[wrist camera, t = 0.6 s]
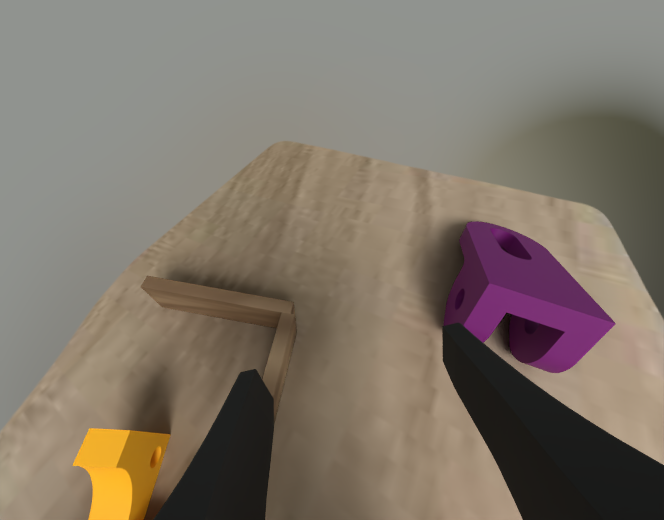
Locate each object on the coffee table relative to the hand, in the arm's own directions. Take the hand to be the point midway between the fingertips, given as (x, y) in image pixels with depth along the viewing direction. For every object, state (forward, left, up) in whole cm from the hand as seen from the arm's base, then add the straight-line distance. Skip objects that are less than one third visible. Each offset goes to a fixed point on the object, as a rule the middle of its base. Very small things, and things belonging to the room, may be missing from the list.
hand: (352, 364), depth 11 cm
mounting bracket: (+16, -17, -18) cm, 29 cm away
